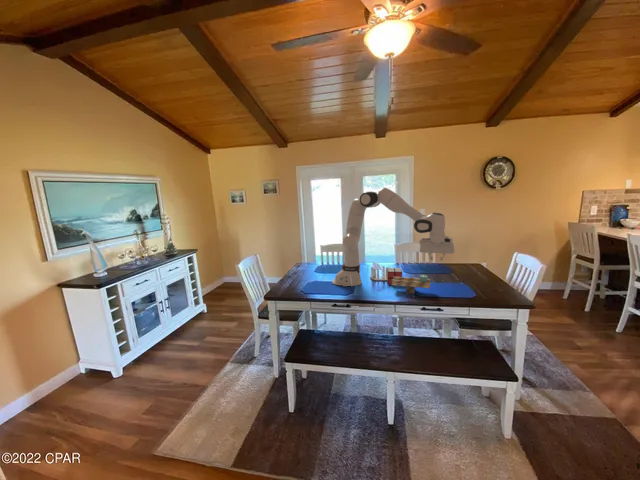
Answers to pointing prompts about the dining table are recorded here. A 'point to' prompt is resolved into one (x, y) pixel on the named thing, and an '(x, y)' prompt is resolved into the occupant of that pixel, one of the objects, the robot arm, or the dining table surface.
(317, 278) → the dining table surface
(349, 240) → the robot arm
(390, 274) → the puzzle cube
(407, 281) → the beam
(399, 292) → the dining table surface
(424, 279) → the rider
